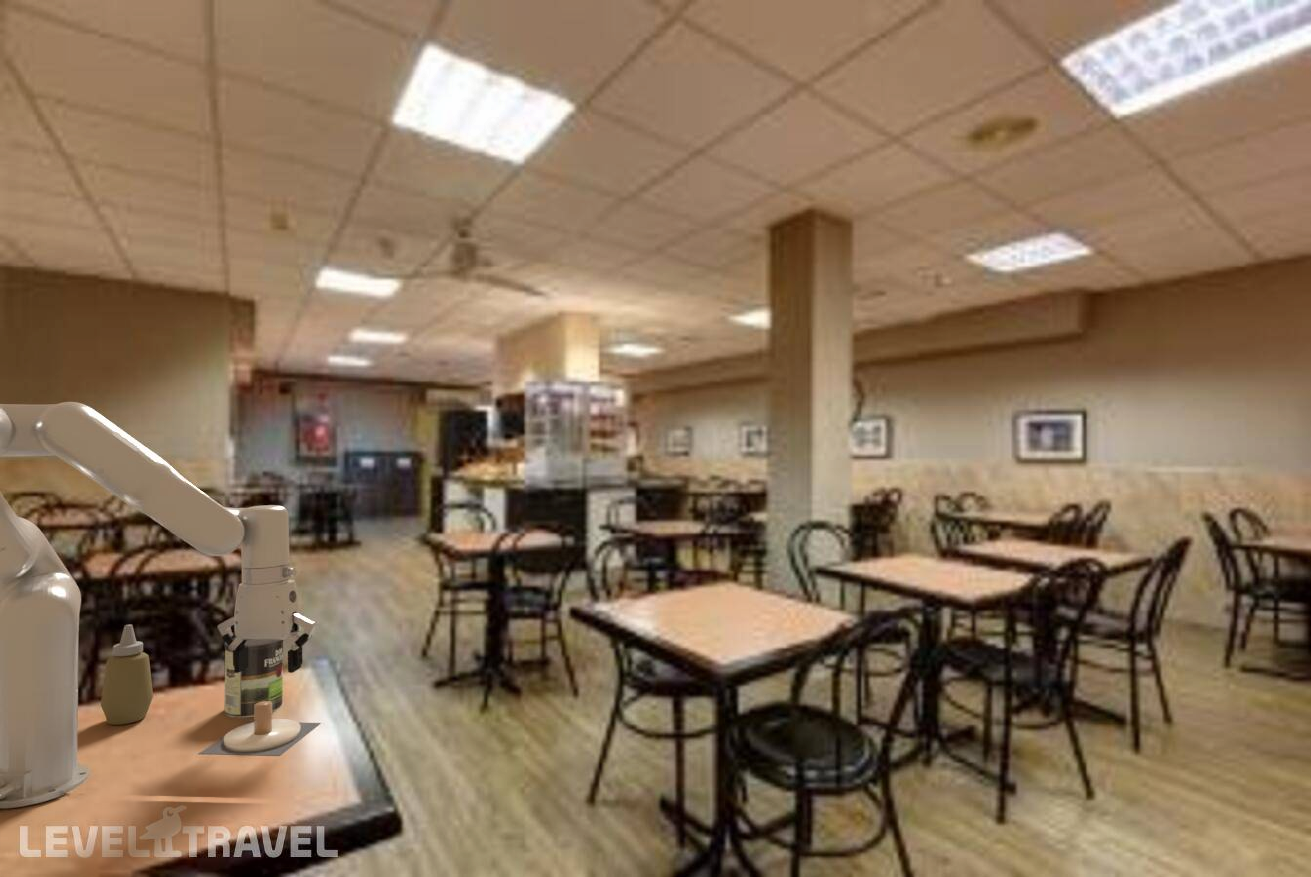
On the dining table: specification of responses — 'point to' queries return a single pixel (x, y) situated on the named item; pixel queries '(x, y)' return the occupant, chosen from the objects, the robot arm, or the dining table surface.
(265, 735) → the lid
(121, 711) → the squeeze bottle
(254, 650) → the coffee can
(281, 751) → the mat
